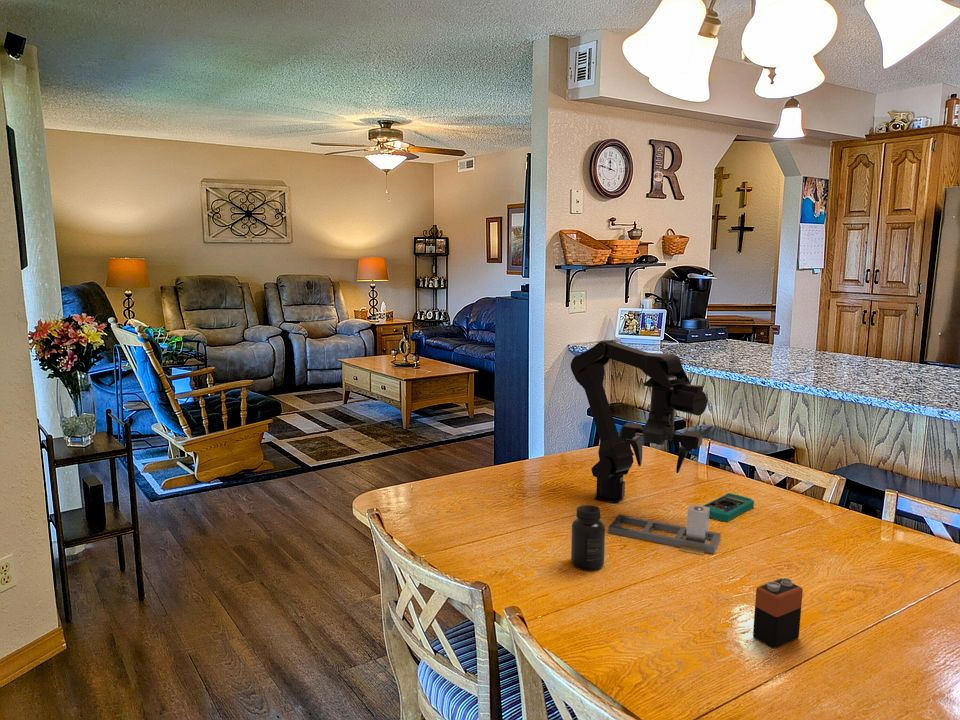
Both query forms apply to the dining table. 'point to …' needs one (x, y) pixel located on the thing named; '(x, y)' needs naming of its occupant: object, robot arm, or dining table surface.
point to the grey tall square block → (697, 523)
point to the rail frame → (648, 536)
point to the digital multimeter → (729, 507)
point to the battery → (777, 612)
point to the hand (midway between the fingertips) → (658, 469)
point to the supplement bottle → (588, 539)
